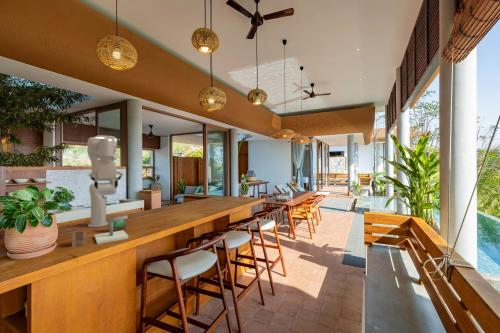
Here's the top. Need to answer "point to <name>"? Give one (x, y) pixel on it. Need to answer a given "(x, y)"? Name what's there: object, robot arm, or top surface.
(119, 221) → the food container
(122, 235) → the post stand
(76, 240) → the bead
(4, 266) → the top surface
